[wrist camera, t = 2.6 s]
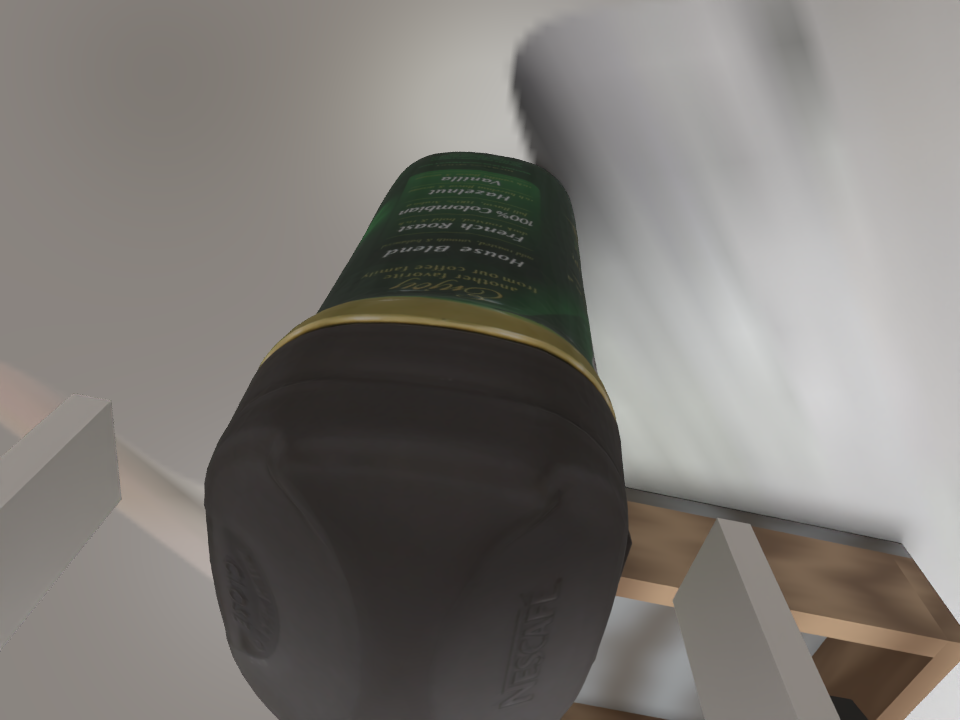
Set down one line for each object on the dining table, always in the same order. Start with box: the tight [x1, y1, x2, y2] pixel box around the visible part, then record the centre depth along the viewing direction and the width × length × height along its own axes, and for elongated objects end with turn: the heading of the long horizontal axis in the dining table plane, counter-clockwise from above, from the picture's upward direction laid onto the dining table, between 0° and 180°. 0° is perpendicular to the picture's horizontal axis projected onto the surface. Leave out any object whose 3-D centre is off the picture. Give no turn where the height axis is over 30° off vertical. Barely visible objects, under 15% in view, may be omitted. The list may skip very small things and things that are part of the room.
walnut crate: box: [560, 488, 960, 720], centre depth 34 cm, size 20×18×6 cm
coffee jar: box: [204, 152, 632, 720], centre depth 18 cm, size 10×8×19 cm
